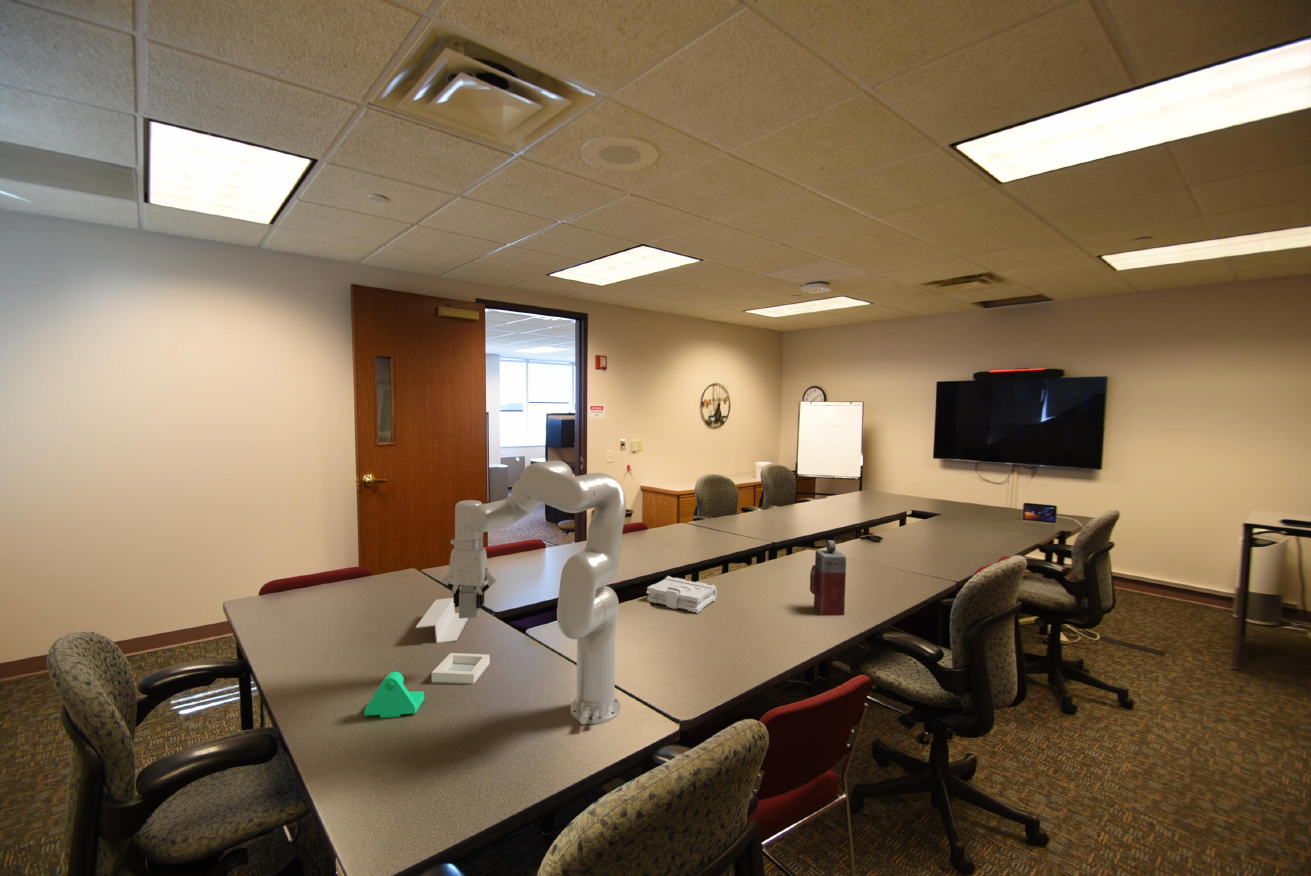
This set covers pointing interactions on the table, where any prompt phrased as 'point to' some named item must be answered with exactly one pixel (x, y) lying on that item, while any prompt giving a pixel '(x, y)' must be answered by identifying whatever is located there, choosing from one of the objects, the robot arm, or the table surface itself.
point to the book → (682, 594)
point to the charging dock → (461, 668)
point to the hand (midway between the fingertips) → (468, 605)
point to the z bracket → (443, 620)
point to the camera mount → (394, 698)
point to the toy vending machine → (829, 581)
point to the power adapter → (468, 602)
